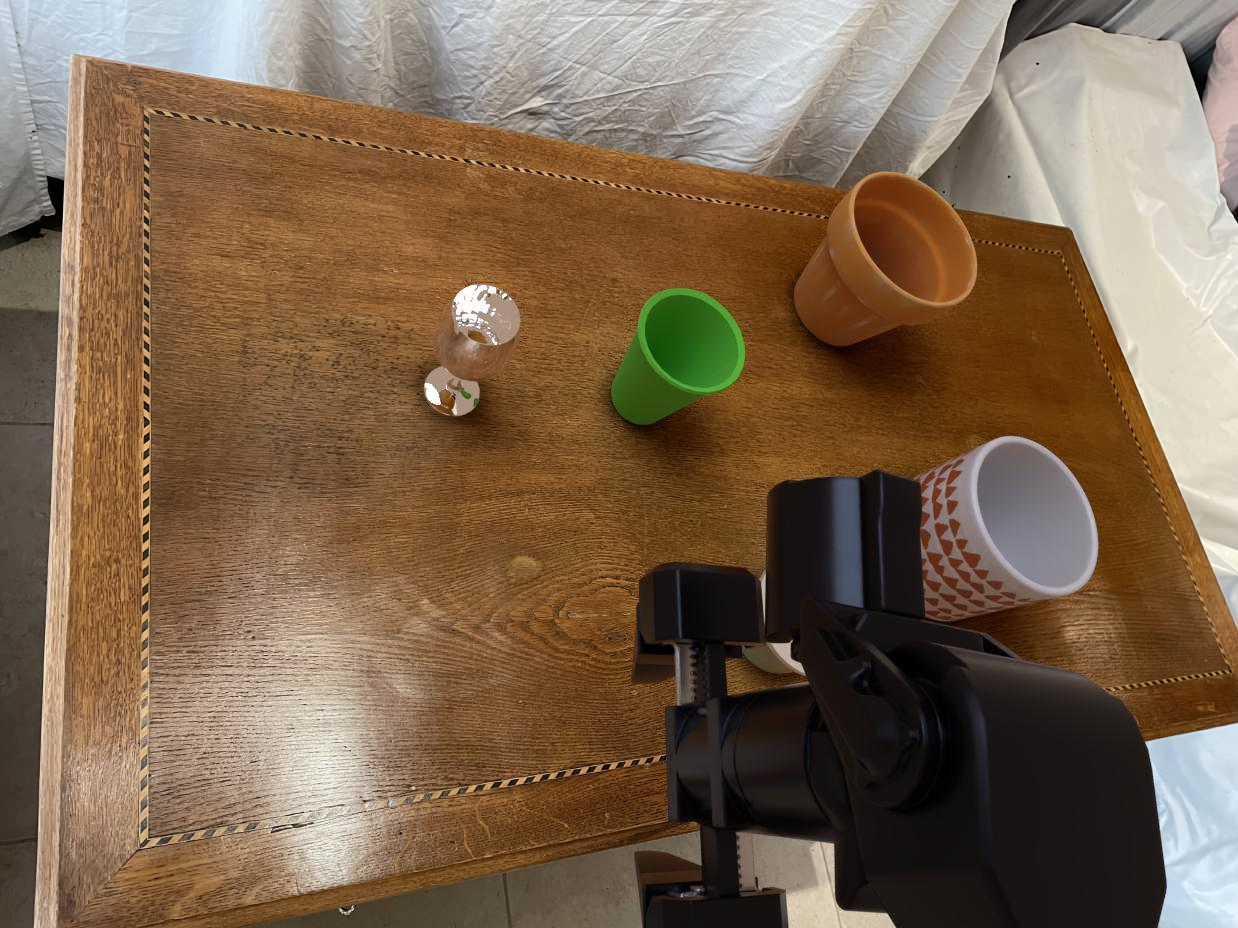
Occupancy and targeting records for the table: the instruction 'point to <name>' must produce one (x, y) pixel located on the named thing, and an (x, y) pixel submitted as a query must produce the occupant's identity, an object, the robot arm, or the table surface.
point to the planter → (1003, 530)
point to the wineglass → (471, 347)
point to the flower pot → (885, 262)
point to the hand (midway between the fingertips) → (640, 764)
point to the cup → (677, 356)
